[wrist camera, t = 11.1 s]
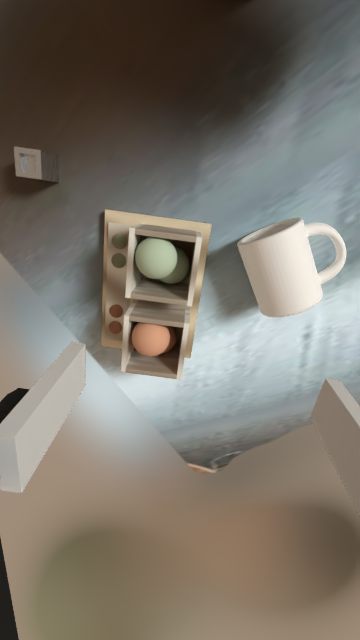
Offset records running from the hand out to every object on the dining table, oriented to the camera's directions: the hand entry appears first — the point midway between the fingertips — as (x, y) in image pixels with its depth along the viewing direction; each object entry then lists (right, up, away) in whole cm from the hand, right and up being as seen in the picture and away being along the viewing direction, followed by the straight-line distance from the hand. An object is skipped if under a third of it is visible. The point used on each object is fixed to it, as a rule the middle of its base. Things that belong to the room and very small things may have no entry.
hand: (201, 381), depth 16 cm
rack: (-5, +8, +27) cm, 28 cm away
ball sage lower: (-2, +11, +22) cm, 24 cm away
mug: (+14, +12, +25) cm, 31 cm away
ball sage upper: (-4, +11, +17) cm, 21 cm away
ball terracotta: (-5, +1, +21) cm, 21 cm away
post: (-18, +23, +21) cm, 36 cm away
